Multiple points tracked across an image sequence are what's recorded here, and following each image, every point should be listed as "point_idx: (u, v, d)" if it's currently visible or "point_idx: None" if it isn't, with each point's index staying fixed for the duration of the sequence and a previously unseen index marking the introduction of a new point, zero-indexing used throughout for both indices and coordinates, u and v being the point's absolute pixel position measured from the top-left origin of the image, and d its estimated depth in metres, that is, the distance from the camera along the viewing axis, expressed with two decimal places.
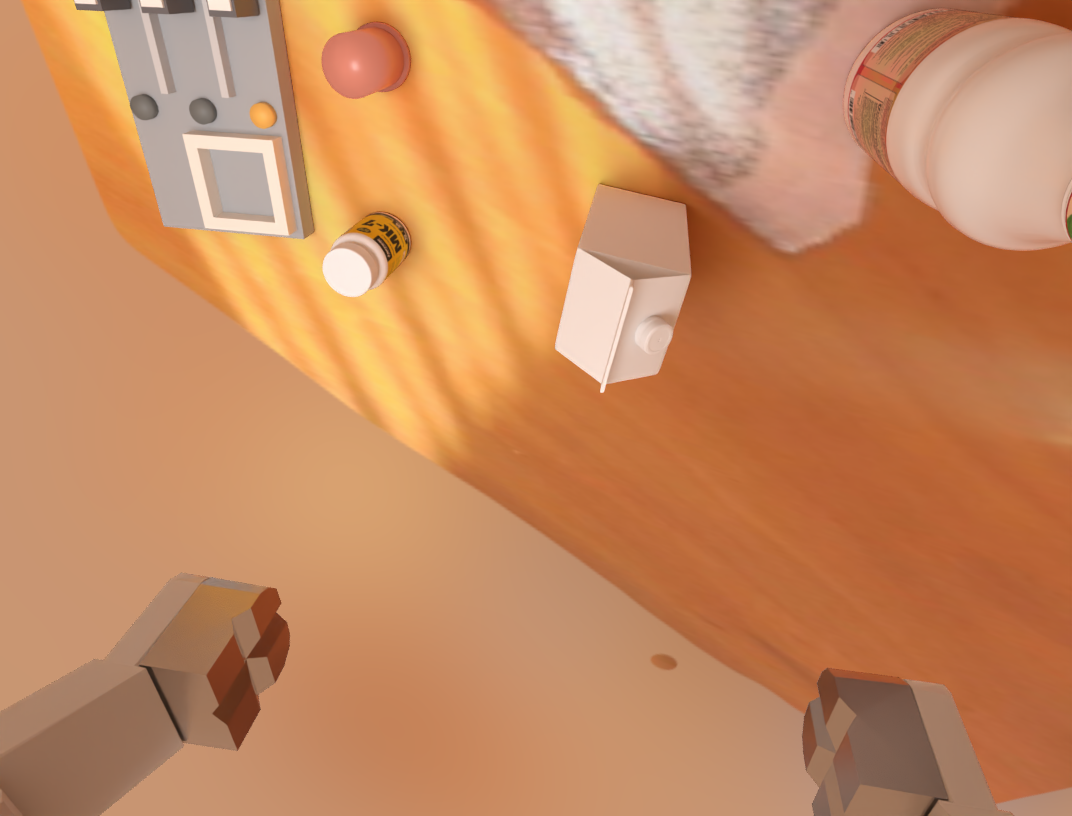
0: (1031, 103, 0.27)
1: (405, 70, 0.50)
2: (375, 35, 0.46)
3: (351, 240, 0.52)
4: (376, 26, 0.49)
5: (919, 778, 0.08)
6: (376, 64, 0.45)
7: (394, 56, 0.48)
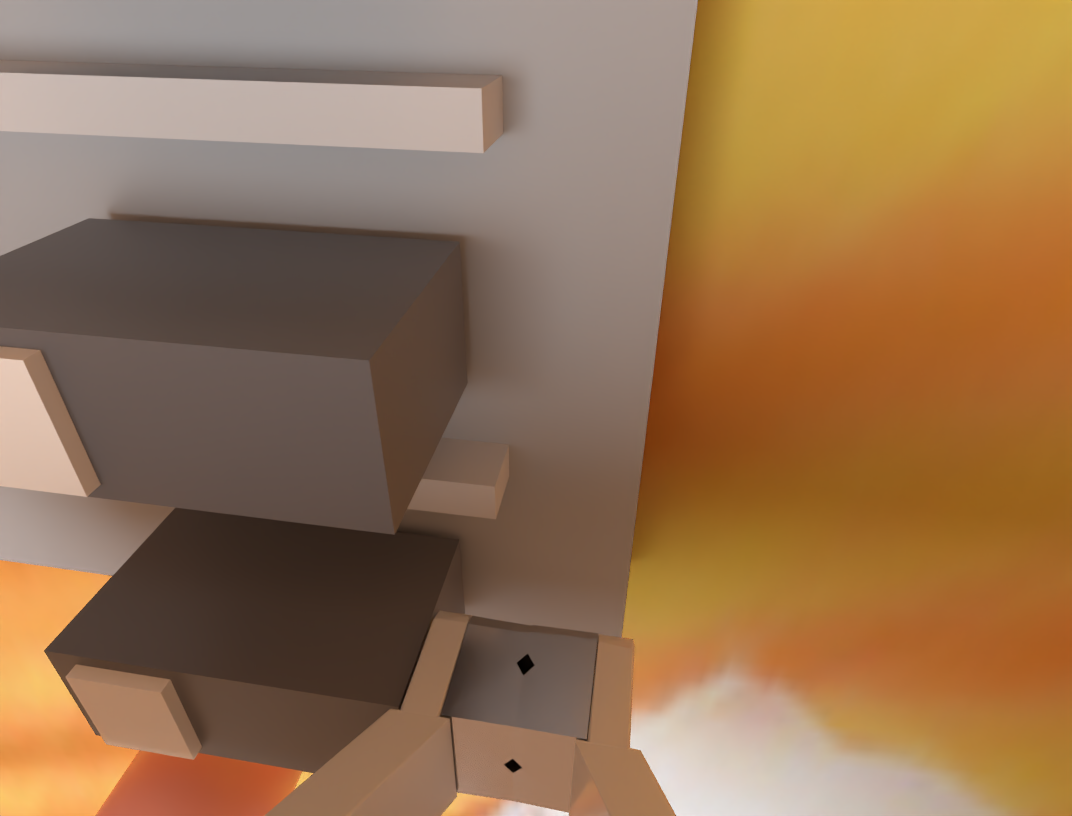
0: None
1: None
2: None
3: None
4: None
5: (567, 720, 0.08)
6: None
7: None
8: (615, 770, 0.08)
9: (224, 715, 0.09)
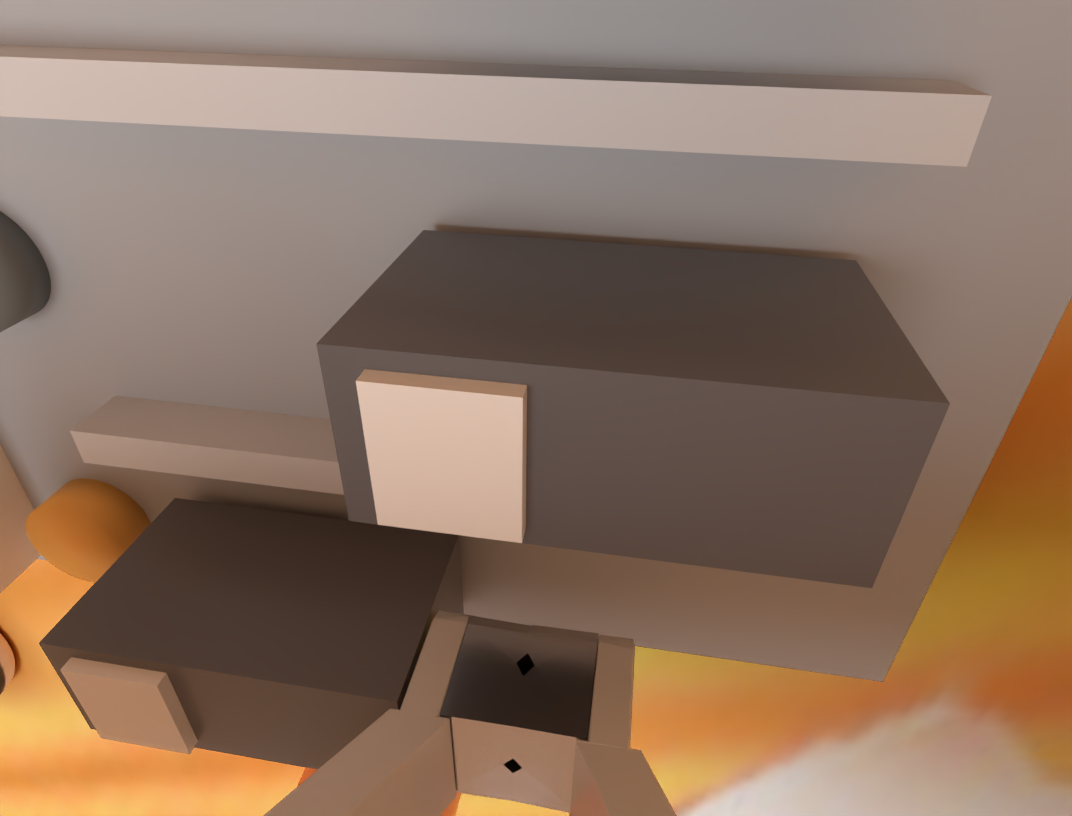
0: None
1: None
2: None
3: None
4: None
5: (568, 720, 0.08)
6: None
7: None
8: (616, 770, 0.08)
9: (219, 709, 0.09)
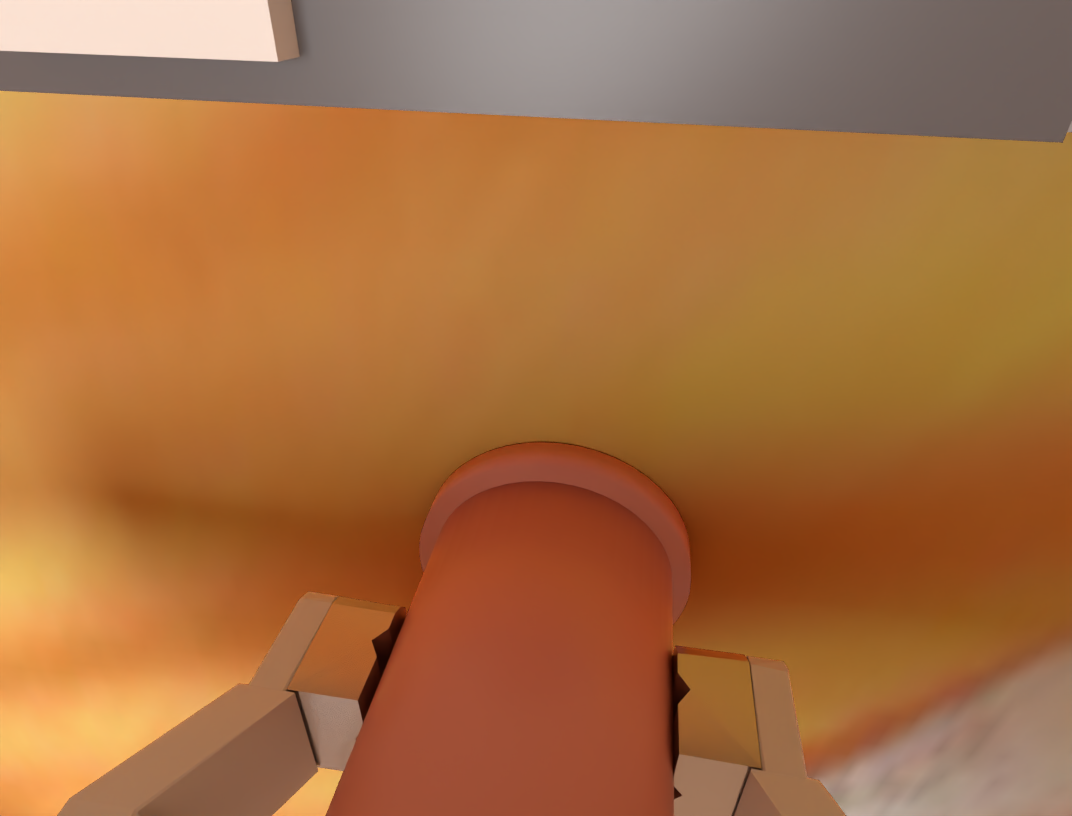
0: None
1: None
2: None
3: None
4: (673, 595, 0.11)
5: (737, 748, 0.08)
6: None
7: None
8: (799, 801, 0.07)
9: None
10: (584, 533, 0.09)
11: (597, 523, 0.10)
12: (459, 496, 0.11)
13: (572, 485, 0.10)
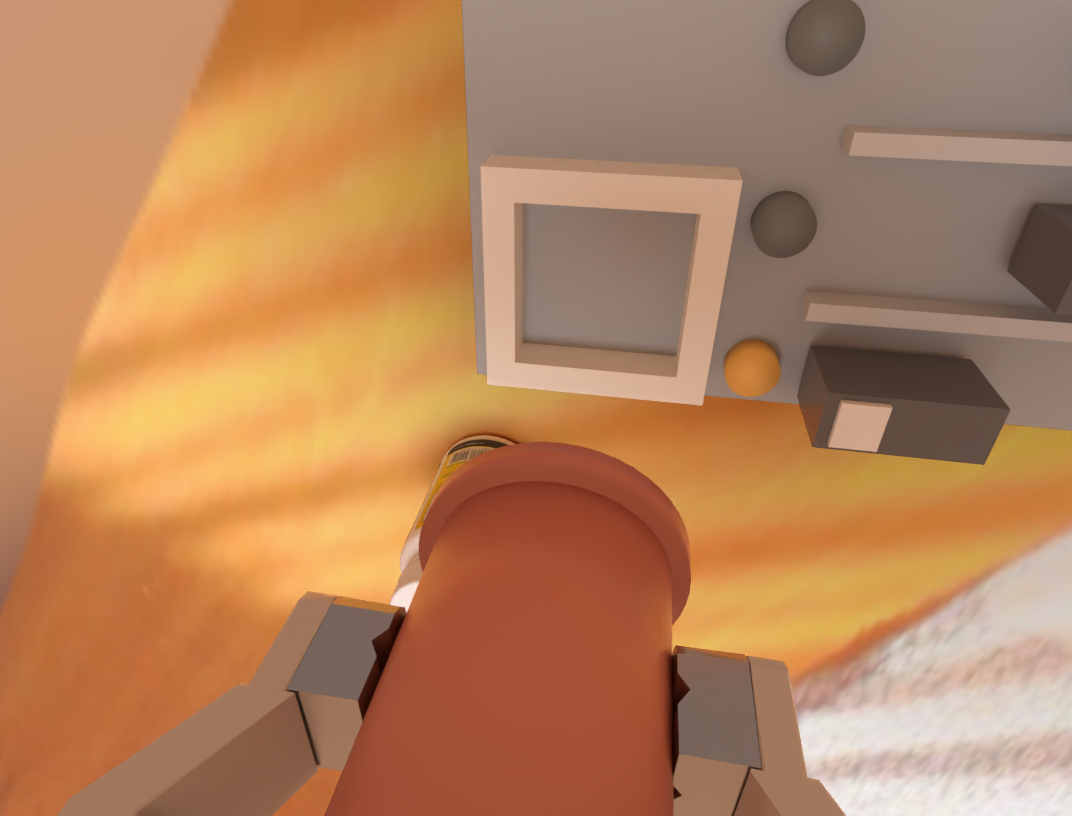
0: None
1: None
2: None
3: None
4: (673, 595, 0.11)
5: (737, 748, 0.08)
6: None
7: None
8: (798, 802, 0.07)
9: (904, 425, 0.20)
10: (583, 533, 0.09)
11: (597, 522, 0.10)
12: (458, 496, 0.11)
13: (571, 485, 0.10)
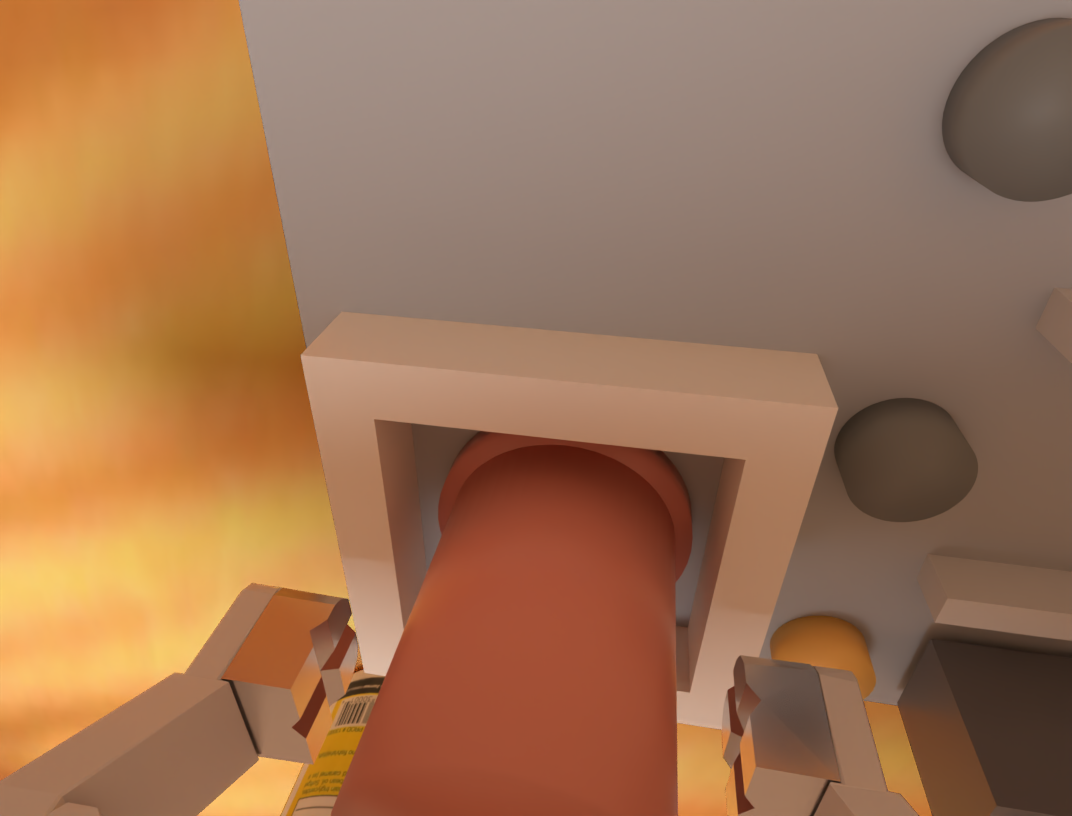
0: None
1: None
2: None
3: None
4: (676, 553, 0.12)
5: (814, 760, 0.08)
6: None
7: None
8: (882, 815, 0.07)
9: None
10: (594, 490, 0.10)
11: (605, 481, 0.10)
12: (476, 460, 0.11)
13: (582, 448, 0.11)
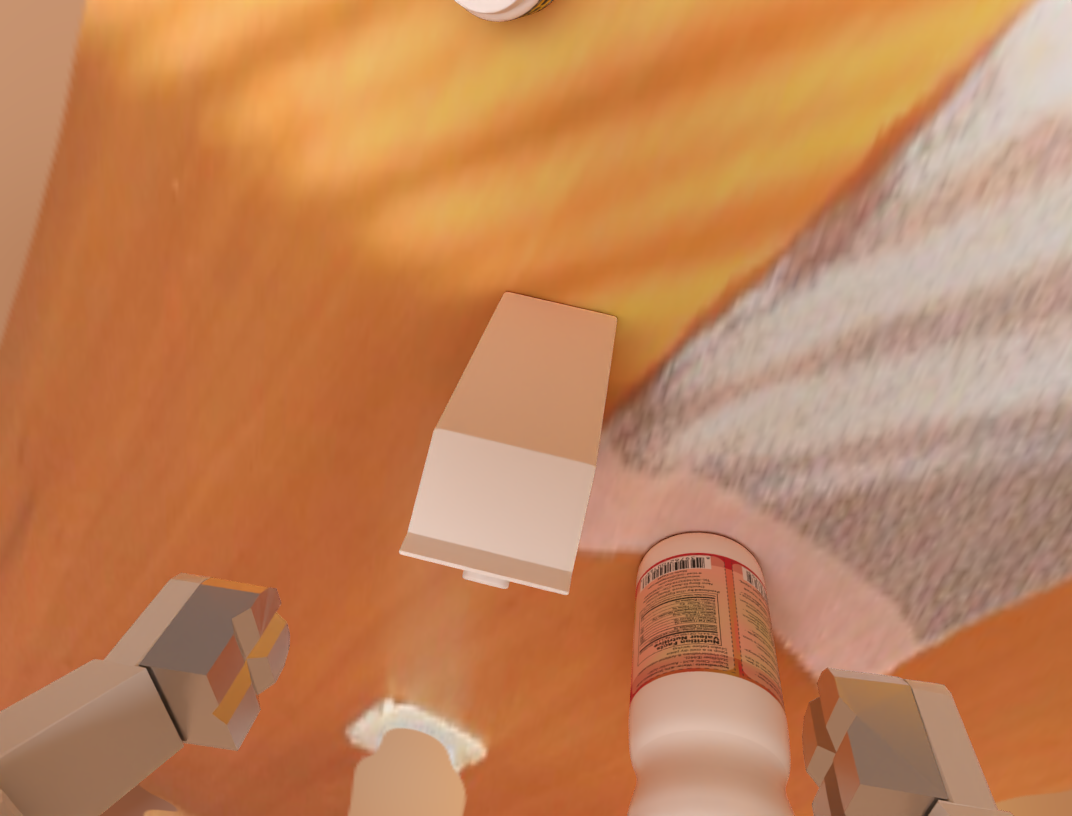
0: None
1: None
2: None
3: None
4: None
5: (919, 778, 0.08)
6: None
7: None
8: None
9: None
10: None
11: None
12: None
13: None
